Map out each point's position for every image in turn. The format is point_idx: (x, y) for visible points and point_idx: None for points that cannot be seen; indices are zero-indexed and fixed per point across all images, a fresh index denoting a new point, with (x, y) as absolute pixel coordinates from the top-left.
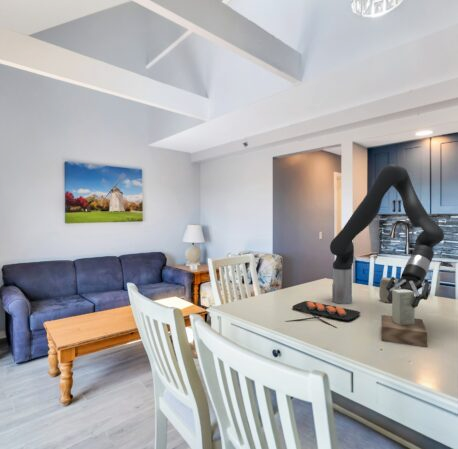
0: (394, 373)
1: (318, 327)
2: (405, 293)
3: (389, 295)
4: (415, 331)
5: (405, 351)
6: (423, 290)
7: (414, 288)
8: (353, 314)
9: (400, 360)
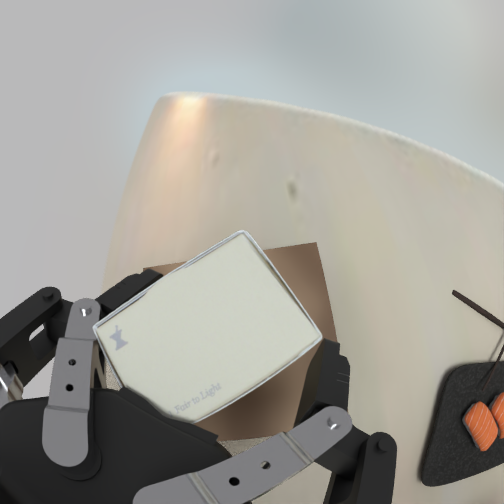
0: (242, 104)
1: (483, 264)
2: (173, 276)
3: (335, 367)
4: (183, 262)
5: (225, 210)
6: (24, 323)
7: (71, 351)
8: (440, 457)
9: (235, 153)
